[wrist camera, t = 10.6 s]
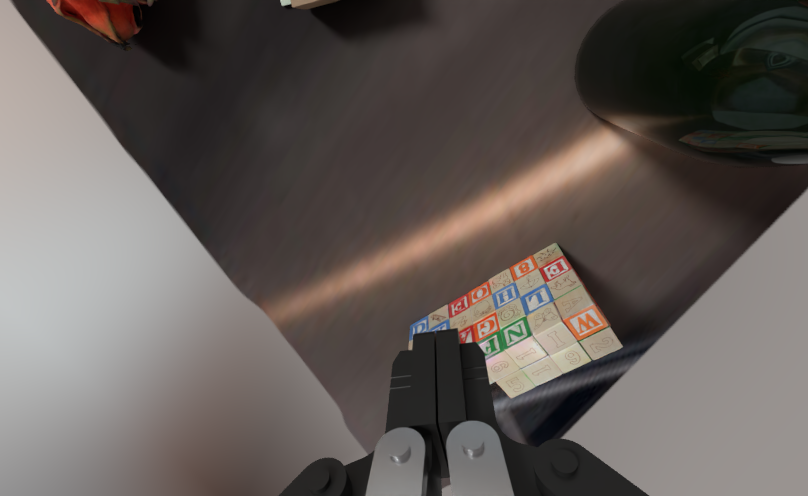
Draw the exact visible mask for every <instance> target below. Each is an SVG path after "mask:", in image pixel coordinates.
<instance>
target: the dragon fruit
mask: <svg viewBox="0 0 808 496" xmlns="http://www.w3.org/2000/svg"><path fill="white" fill-rule="evenodd" d="M154 1H158V0H47V2H49V4H50V5H51V6H52V7H53V9H54V10H55V11H56V13H57V14H59V15H61V16H63V17H64V18H66V19H68V20H71V21H73V22H76V23H78V24H80V25H82V26H84V27H86V28H87V29H89V30H90V31H92V32H93V33H95V34H96V35H98V36H101V37H103V38H104V39H105V40H106V41H108V42H109V43H111V44H112V45H114V46H117V47H120V48H121V49H123V50H125V51H128V50H131V49H132V48H131V47H129V46H126V45H129V43H127V41H128V39H130V38H131V37H132V36H133V35H134V34H137V33H138V32H139V31H140V29H141V28H142V27H143V26H144V24H143V23H142V21H141V20H142V11H141V9H140V6H139V4H142V5H148V6H151V5H152V4H153V2H154ZM133 5H135V6H138V9H139V13H138V11H137V9H136V10H135V15H136V21H137V25H136V23H135V20H134V14H133ZM135 45H137V44H135Z"/></svg>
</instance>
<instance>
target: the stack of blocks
mask: <svg viewBox="0 0 808 496" xmlns="http://www.w3.org/2000/svg"><path fill="white" fill-rule="evenodd" d="M610 326H611V324H610V323H609V321H608V320H607V318H606V316H605V315H604V313H603V312H602V310H601V309H600V307H599V306H598V305H597V303H596V301H595V300H594V298H593V297H592V296H591V294H590V293H589V291H588V290H587V288H586V286H585V285H584V283H583V282H582V280H581V278H580V277H579V276H578V274H577V273H576V271H575V270H574V268H573V267H572V265H571V264H570V262H569V261H568V260H567V258H566V257H565V255H564V254H563V252H562V251H561V249H560V248H559V246H558V245H557V243H554V244H552V245H550V246H549V247H547V248H545V249H543V250H541V251H540V252H538V253H536V254H534V255H532V256H530V257H528V258H526V259H524V260H523V261H521V262H519V263H517V264H516V265H514V266H512V267H510V268H509V269H507V270H505V271H503V272H501V273H500V274H498V275H496V276H494V277H493V278H491V279H489V280H488V281H487V282H485V283H484V284H482V285H481V286H479V287H477V288H475V289H473V290H472V291H470V292H469V293H468V294H465V295H464V296H462V297H460V298H458V299H457V300H455V301H453V302H451V303H450V304H449V305H445V306H443V307H442V308H440V309H438V310H436V311H435V312H433V313H431V314H429V315H428V316H426V317H424V318H423V319H421V320H419V321H417V322H416V323H414V324H412V325H411V326H410V337H409V341H410V342H409V349H408V350H412V346H413V334H416V333H424V332H431V331H435V332H436V331H438V330H446V329H453V328H458V331H459V336H460V341H461V343H469V342H476V343H477V344H478V345H479V346H480V348H481V349H482V350H483V351H484V354H485V360H486V365H487V371H488V377H489V383H490V384H492V383H494V382H496V383H497V384H498V385H499V386H500V387H501V388H502V389H503V390H504V391H505V393H506V394H507V395H508V396H509V397H510V398H513V397H515V396H517V395H520V394H522V393H524V392H526V391H528V390H530V389H532V388H534V387H536V386H538V385H540V384H543V383H545V382H547V381H549V380H551V379H553V378H556V377H558V376H560V375H561V374H563V373H567V372H569V371H571V370H573V369H575V368H577V367H580V366H582V365H584V364H586V363H588V362H590V361H591V360H596V359H598V358H601V357H603V356H605V355H607V354H609V353H612V352H614V351H616V350H618V349H621V348H622V347H623V346H622V344H621V343H620V341H619V340H618V338H617V337H616V335H615V333H614V332H613V330H612V329H611V327H610Z"/></svg>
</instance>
